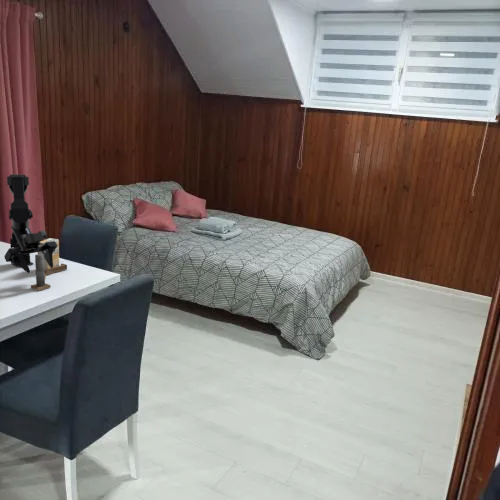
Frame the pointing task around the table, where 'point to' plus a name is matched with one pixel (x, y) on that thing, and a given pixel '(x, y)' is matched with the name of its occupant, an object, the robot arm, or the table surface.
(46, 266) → the supplement box
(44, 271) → the grey knob lever
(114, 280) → the table surface
